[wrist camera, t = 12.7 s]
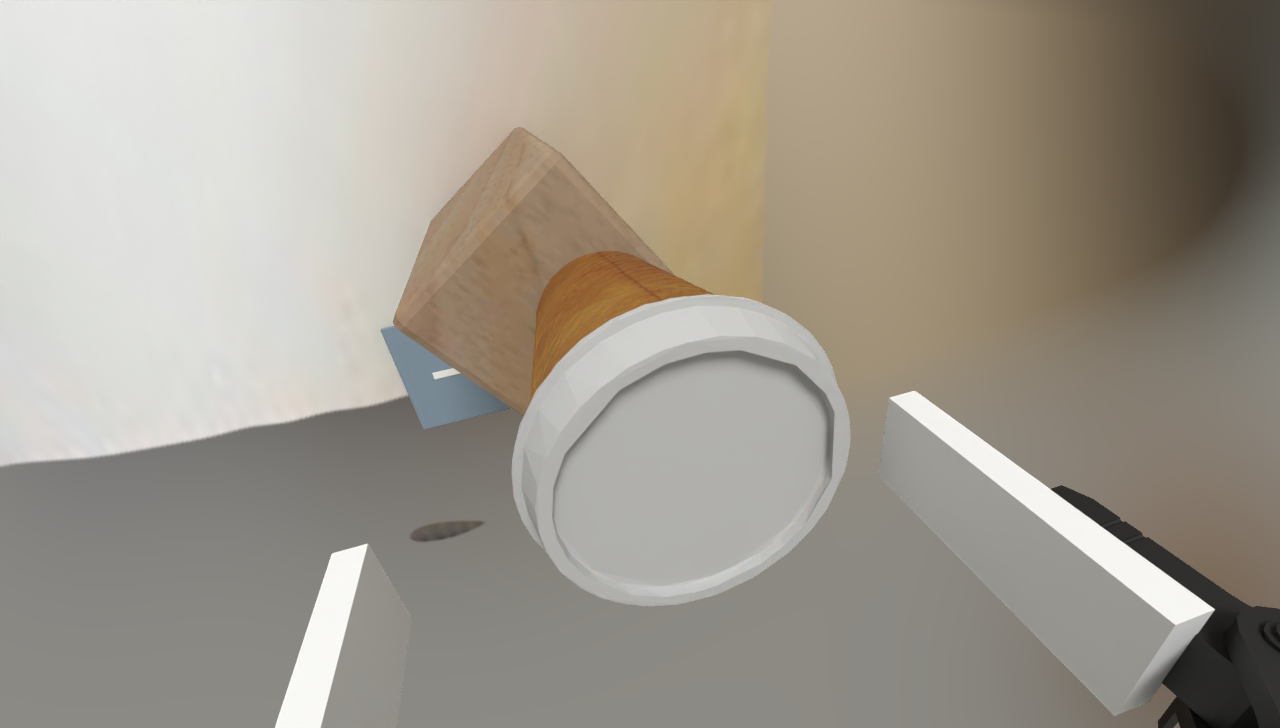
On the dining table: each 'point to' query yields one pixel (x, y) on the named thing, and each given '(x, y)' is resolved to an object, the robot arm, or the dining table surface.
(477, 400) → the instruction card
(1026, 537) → the robot arm
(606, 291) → the disposable coffee cup
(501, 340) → the wooden block
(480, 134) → the dining table surface
